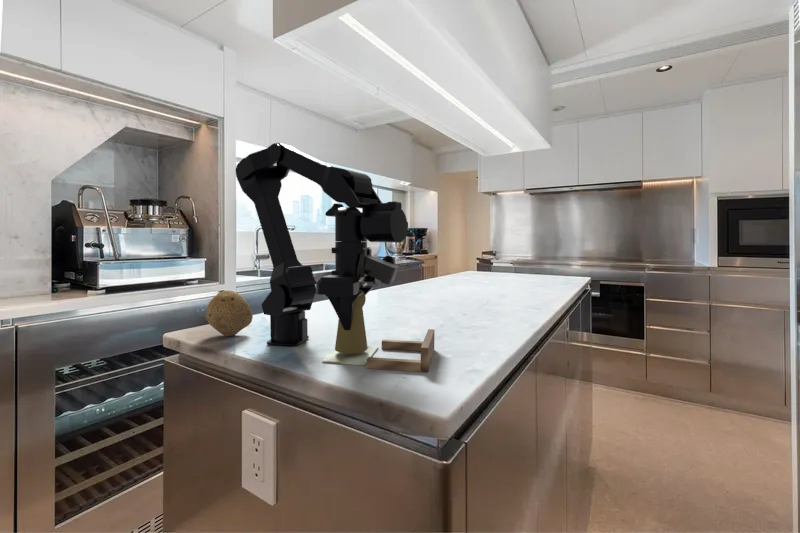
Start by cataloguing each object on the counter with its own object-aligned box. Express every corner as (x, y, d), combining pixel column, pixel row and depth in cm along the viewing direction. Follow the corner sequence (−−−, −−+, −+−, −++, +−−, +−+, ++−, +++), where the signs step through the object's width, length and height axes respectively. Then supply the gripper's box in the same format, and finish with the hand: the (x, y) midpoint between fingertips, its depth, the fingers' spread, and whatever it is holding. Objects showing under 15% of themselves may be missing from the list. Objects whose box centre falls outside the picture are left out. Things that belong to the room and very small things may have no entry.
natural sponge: (196, 337, 82) (195, 291, 81) (233, 328, 89) (232, 286, 88) (222, 343, 77) (221, 294, 76) (259, 334, 85) (258, 289, 84)
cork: (351, 355, 66) (351, 292, 65) (327, 349, 69) (327, 289, 69) (374, 347, 71) (374, 289, 70) (351, 342, 74) (351, 286, 73)
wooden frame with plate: (319, 364, 65) (319, 341, 64) (342, 344, 77) (342, 325, 76) (427, 372, 61) (428, 347, 61) (434, 349, 74) (434, 329, 73)
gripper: (383, 243, 58) (383, 343, 59) (403, 241, 76) (403, 318, 77) (314, 242, 60) (315, 339, 61) (350, 241, 78) (350, 315, 79)
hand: (351, 327), depth 70 cm, fingers closed on cork, 4 cm apart
